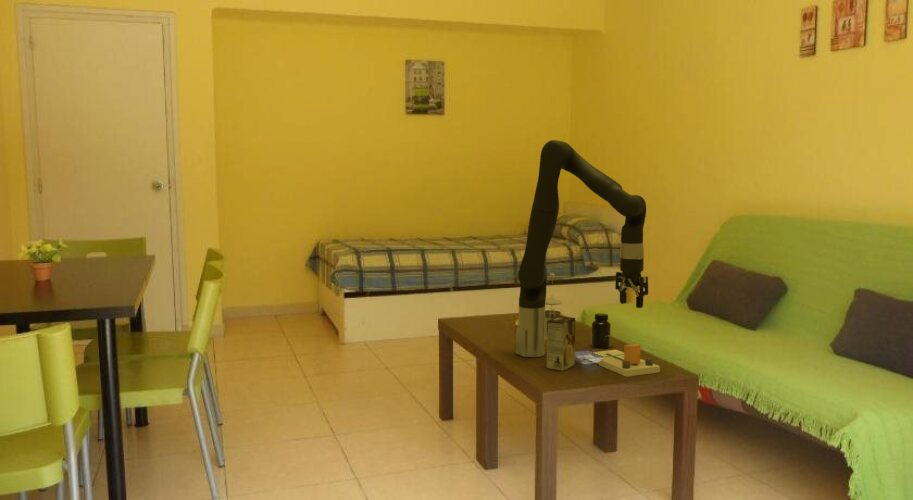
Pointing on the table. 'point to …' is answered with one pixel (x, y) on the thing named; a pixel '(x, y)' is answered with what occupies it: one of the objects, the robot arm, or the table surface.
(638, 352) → the fader cap
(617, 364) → the console
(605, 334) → the supplement bottle
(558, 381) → the table surface
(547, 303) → the french press
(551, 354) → the coffee box
